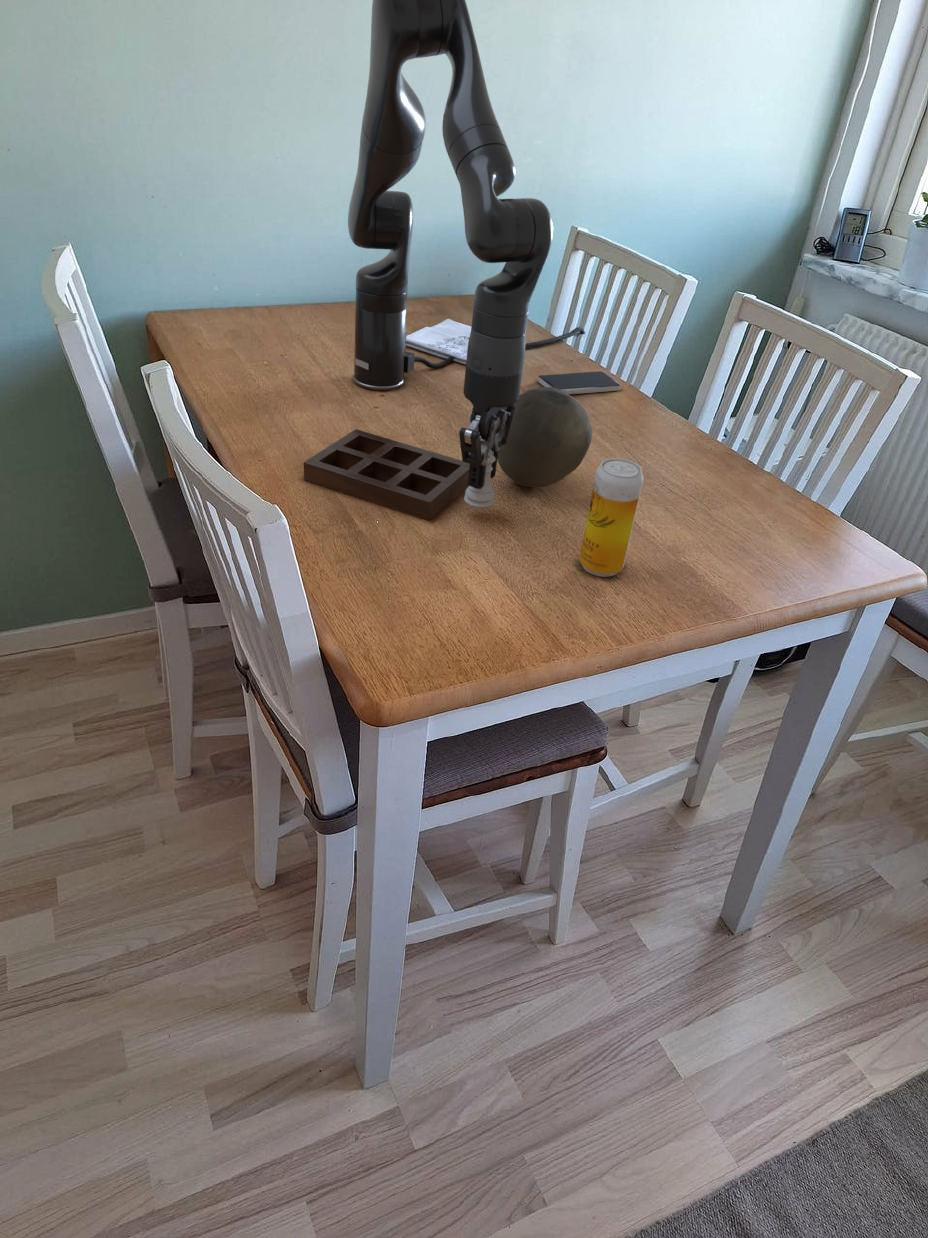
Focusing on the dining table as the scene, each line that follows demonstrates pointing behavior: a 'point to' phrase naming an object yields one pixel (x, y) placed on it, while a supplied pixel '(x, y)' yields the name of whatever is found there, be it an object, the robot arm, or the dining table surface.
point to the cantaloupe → (545, 438)
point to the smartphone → (580, 382)
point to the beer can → (611, 516)
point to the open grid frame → (389, 473)
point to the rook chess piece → (482, 489)
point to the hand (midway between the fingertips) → (481, 480)
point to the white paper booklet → (442, 340)
